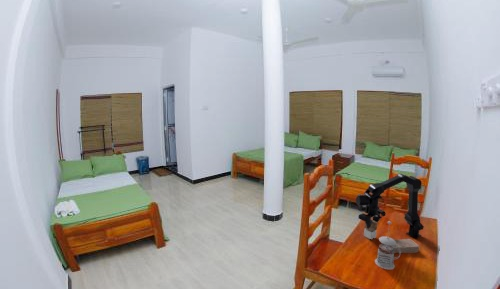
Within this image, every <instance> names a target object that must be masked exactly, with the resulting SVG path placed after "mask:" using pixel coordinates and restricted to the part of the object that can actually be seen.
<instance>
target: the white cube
mask: <svg viewBox="0 0 500 289" xmlns="http://www.w3.org/2000/svg"><path fill="white" fill-rule="evenodd" d="M363 236H364V237H365V238H367V239H369V240H370V239H371V240H373V238H374V239H375V238H377V230H374V231H372V232H371V231H369V230H368V229H366V228H364V232H363Z"/></svg>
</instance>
